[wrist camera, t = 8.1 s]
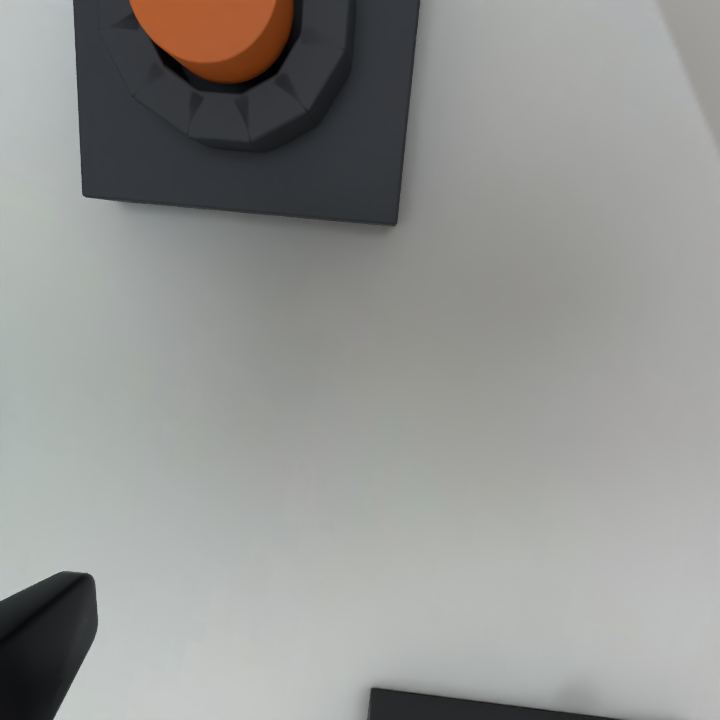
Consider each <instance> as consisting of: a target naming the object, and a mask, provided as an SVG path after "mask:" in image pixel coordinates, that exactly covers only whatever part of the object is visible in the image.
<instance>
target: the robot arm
mask: <svg viewBox="0 0 720 720" xmlns="http://www.w3.org/2000/svg"><path fill="white" fill-rule="evenodd" d="M97 627H98V614H97V601H96V588H95V580H94V578H93V576H92V575H90V574H88V573H80V572H71V571H63V572H59V573H57V574H55V575H53V576H51V577H49V578H47V579H45V580H43V581H41V582H39V583H37V584H35V585H33V586H30V587H28V588H26V589H24V590H22V591H20V592H18V593H16V594H14V595H12V596H10V597H8V598H6V599H4V600H2V601H0V720H53V719H54V717H55V715H56V713H57V711H58V709H59V707H60V705H61V704H62V702H63V700H64V698H65V696H66V694H67V692H68V690H69V688H70V686H71V684H72V682H73V680H74V678H75V676H76V674H77V672H78V670H79V668H80V666H81V664H82V662H83V661H84V659H85V657H86V655H87V653H88V651H89V649H90V647H91V645H92V643H93V641H94V638H95V635H96V632H97Z"/></svg>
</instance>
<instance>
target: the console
mask: <svg viewBox="0 0 720 720" xmlns="http://www.w3.org/2000/svg"><path fill="white" fill-rule="evenodd" d="M367 720H612V719H605V718H597V717H589V716H581V715H573V714H566V713H558V712H550V711H542V710H534V709H527V708H519V707H511V706H503V705H495V704H488V703H480V702H472V701H464V700H457V699H449V698H441V697H433V696H425V695H418V694H410V693H402V692H394V691H386V690H379V689H371V693H370V701H369V710H368V719H367Z"/></svg>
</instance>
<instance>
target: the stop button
mask: <svg viewBox="0 0 720 720" xmlns="http://www.w3.org/2000/svg"><path fill="white" fill-rule="evenodd" d="M129 1H130V5H131V7H132V9H133V12H134V14H135V16H136V18H137V20H138V21H139V23H140V25H141V26H142V28H143V29H144V30H145V32H146V33H147V35H148V36H149V37H150V38H151V39H152V40H153V41H154V42H155V43H156V44H157V45H158V46H160V47H161V48H162V49H163V50H164V51H166V52H167V53H168V54H169V55H171V56H172V57H173V58H174V59H176V60H177V61H178V62H179V63H181V64H182V65H183V66H184V67H186V68H187V69H188V70H189V71H191V72H192V73H194V74H195V75H197V76H199V77H201V78H203V79H205V80H208V81H211V82H214V83H220V84H237V83H242V82H245V81H249V80H251V79H253V78H255V77H257V76H259V75H260V74H262V73H264V72H265V71H266V70H267V69H268V68H269V67H271V66H272V65H273V63H274V62H275V61H276V60H277V59H278V57H279V56H280V54H281V53H282V51H283V49H284V47H285V45H286V43H287V41H288V38H289V35H290V33H291V28H292V24H293V15H294V0H129Z"/></svg>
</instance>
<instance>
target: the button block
mask: <svg viewBox="0 0 720 720" xmlns="http://www.w3.org/2000/svg"><path fill="white" fill-rule="evenodd" d="M73 6H74V27H75V48H76V69H77V90H78V111H79V133H80V154H81V175H82V194H83V196H85V197H88V198H96V199H104V200H113V201H121V202H132V203H143V204H154V205H165V206H176V207H187V208H198V209H209V210H220V211H231V212H242V213H253V214H264V215H275V216H286V217H297V218H308V219H319V220H330V221H341V222H352V223H363V224H374V225H385V226H396V224H397V219H398V209H399V199H400V190H401V180H402V170H403V161H404V151H405V141H406V132H407V122H408V112H409V103H410V93H411V83H412V74H413V64H414V54H415V45H416V35H417V25H418V16H419V6H420V0H294V15H293V24H292V28H291V33H290V35H289V38H288V41H287V43H286V45H285V47H284V49H283V51H282V53H281V54H280V56H279V57H278V59H277V60H276V61H275V62H274V63H273V65H272V66H271V67H269V68H268V69H267V70H266V71H265V72H264V73H262V74H260V75H259V76H257V77H255V78H253V79H251V80H249V81H245V82H242V83H237V84H220V83H214V82H211V81H208V80H205V79H203V78H201V77H199V76H197V75H195V74H194V73H192V72H191V71H189V70H188V69H187V68H186V67H184V66H183V65H182V64H181V63H179V62H178V61H177V60H176V59H174V58H173V57H172V56H171V55H169V54H168V53H167V52H166V51H164V50H163V49H162V48H161V47H160V46H158V45H157V44H156V43H155V42H154V41H153V40H152V39H151V38H150V37H149V36H148V35H147V33H146V32H145V30H144V29H143V28H142V26H141V25H140V23H139V21H138V20H137V18H136V16H135V14H134V12H133V9H132V7H131V5H130V1H129V0H73Z"/></svg>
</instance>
